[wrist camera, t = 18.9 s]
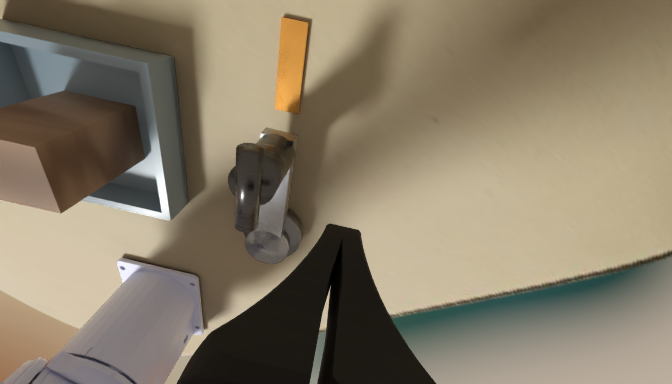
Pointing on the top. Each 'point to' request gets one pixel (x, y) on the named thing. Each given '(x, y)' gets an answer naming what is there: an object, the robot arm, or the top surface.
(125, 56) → the tray
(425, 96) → the top surface
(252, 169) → the crank
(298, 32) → the orange flat bar
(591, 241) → the top surface
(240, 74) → the top surface
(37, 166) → the block
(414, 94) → the top surface
